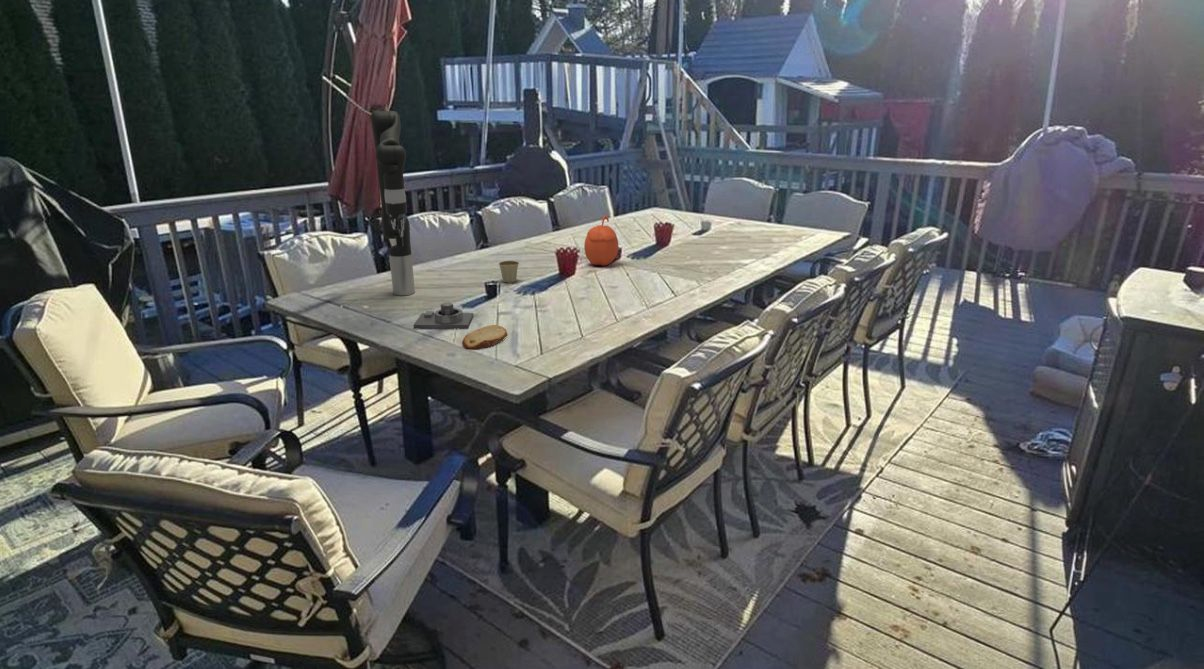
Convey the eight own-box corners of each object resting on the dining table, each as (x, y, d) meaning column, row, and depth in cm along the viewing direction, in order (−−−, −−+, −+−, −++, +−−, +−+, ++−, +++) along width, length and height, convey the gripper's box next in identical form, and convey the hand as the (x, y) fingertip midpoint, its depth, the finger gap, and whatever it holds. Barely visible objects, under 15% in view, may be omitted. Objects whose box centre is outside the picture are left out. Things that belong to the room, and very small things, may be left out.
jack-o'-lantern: (606, 258, 346) (607, 211, 337) (625, 265, 333) (626, 217, 324) (577, 263, 336) (577, 215, 327) (596, 270, 323) (596, 220, 314)
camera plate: (422, 316, 255) (421, 310, 254) (473, 316, 256) (473, 310, 255) (413, 328, 242) (413, 321, 241) (467, 328, 243) (467, 321, 242)
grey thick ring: (438, 315, 252) (437, 307, 251) (464, 315, 252) (463, 307, 251) (433, 324, 243) (432, 315, 241) (460, 324, 243) (459, 315, 242)
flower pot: (495, 280, 304) (494, 262, 301) (512, 277, 310) (511, 259, 307) (506, 285, 298) (505, 266, 295) (523, 281, 303) (523, 263, 300)
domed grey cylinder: (441, 317, 250) (440, 302, 247) (453, 316, 251) (452, 301, 248) (442, 322, 244) (440, 307, 242) (454, 322, 245) (453, 306, 243)
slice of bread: (502, 329, 244) (502, 319, 243) (516, 345, 229) (516, 335, 227) (454, 335, 237) (454, 325, 236) (465, 352, 222) (465, 342, 221)
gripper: (390, 198, 249) (394, 242, 255) (380, 203, 237) (385, 250, 243) (410, 198, 249) (414, 242, 255) (401, 203, 237) (405, 250, 243)
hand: (400, 246), depth 249 cm, fingers closed
